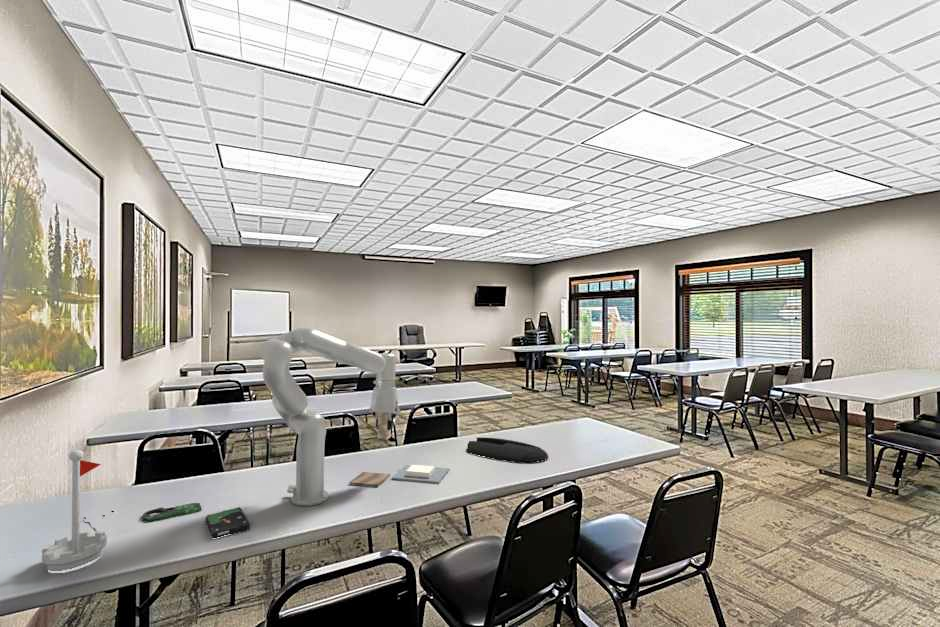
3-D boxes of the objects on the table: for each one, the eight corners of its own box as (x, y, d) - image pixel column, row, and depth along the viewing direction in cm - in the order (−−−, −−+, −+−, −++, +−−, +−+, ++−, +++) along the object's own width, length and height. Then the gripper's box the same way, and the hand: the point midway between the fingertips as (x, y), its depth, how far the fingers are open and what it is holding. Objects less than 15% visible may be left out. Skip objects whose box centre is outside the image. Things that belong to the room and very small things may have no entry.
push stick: (377, 438, 179) (378, 411, 180) (381, 436, 183) (382, 409, 184) (386, 439, 179) (387, 411, 179) (390, 437, 182) (391, 410, 183)
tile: (412, 469, 190) (405, 476, 183) (412, 464, 190) (405, 470, 183) (434, 471, 188) (429, 478, 180) (434, 466, 188) (429, 472, 180)
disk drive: (250, 531, 138) (240, 514, 150) (250, 522, 138) (240, 506, 150) (212, 542, 132) (204, 523, 143) (212, 532, 132) (204, 514, 143)
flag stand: (44, 582, 110) (45, 461, 111) (39, 562, 119) (40, 450, 119) (110, 561, 120) (112, 449, 120) (101, 544, 129) (102, 440, 129)
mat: (391, 479, 181) (391, 477, 181) (405, 466, 197) (405, 464, 197) (438, 483, 177) (438, 481, 177) (449, 470, 192) (449, 468, 192)
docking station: (535, 469, 196) (535, 457, 196) (458, 453, 217) (458, 443, 217) (556, 454, 217) (556, 444, 217) (484, 441, 238) (484, 432, 238)
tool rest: (349, 484, 175) (349, 482, 175) (363, 474, 187) (363, 471, 187) (377, 487, 173) (377, 484, 173) (389, 476, 184) (389, 474, 184)
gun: (199, 498, 159) (201, 508, 151) (199, 502, 159) (201, 512, 151) (143, 509, 150) (141, 520, 142) (143, 514, 150) (141, 525, 141)
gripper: (362, 383, 180) (361, 429, 179) (401, 386, 176) (399, 433, 175) (370, 381, 187) (369, 425, 187) (408, 384, 183) (406, 428, 183)
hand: (384, 428), depth 181 cm, fingers closed on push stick, 4 cm apart
